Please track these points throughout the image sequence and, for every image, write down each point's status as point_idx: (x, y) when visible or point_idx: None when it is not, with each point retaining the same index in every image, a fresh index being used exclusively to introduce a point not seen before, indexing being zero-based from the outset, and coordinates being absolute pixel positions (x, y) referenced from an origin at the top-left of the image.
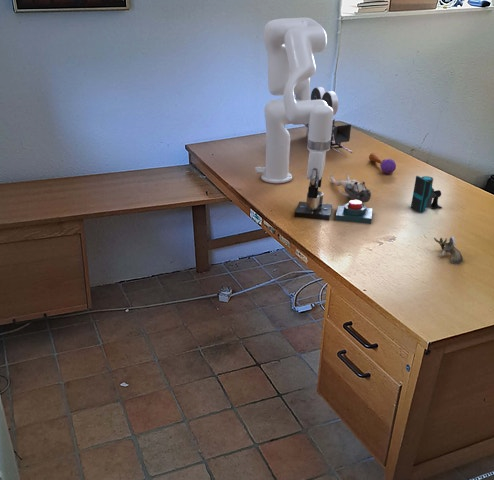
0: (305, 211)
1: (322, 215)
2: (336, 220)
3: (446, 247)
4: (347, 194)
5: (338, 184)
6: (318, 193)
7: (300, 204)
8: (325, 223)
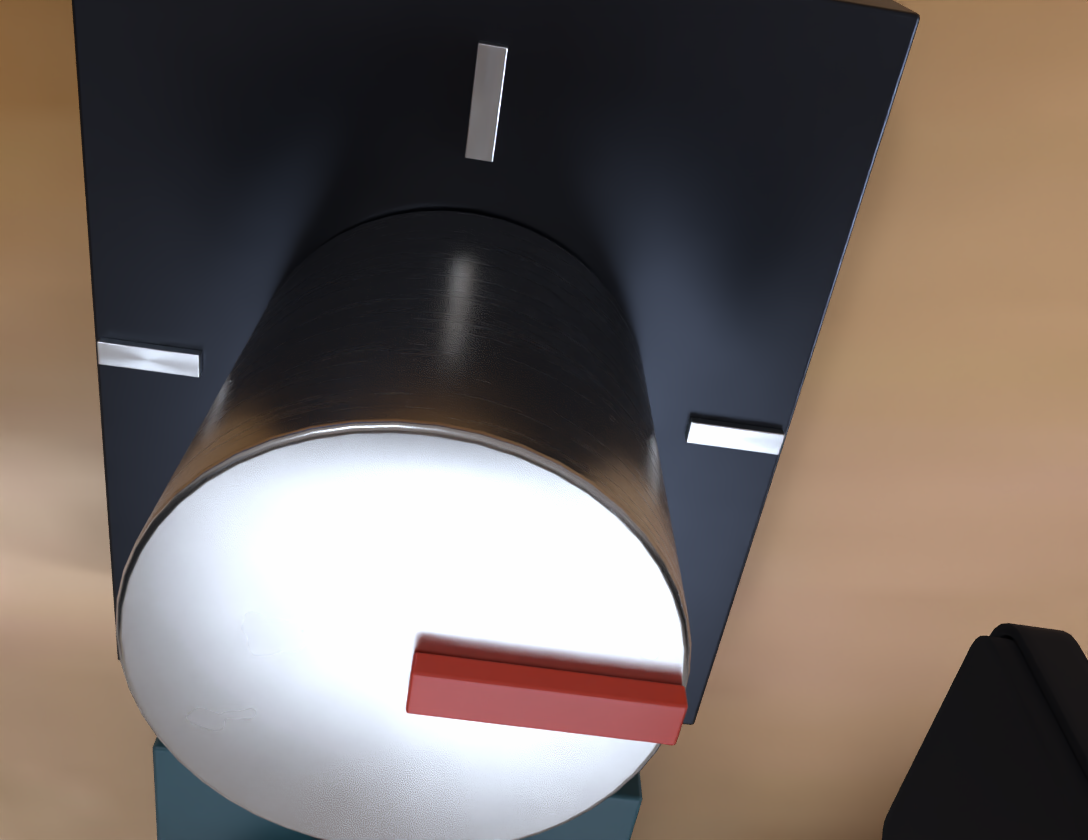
0: (190, 190)
1: (112, 539)
2: None
3: None
4: None
5: None
6: (415, 752)
7: (673, 51)
8: (8, 527)
